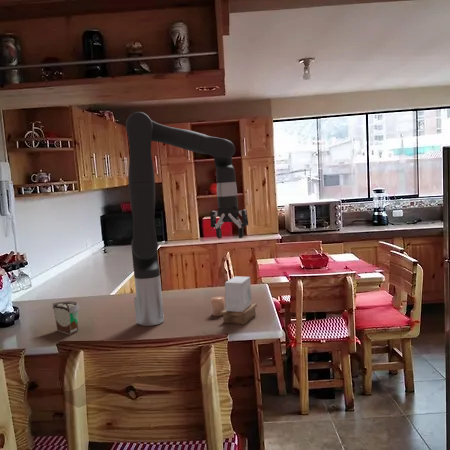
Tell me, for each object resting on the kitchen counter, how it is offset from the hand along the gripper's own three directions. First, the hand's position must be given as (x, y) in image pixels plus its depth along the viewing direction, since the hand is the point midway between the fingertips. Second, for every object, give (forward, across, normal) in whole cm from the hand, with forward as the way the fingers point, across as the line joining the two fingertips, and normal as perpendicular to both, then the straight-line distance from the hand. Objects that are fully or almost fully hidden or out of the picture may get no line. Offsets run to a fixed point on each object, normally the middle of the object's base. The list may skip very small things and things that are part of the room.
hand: (230, 238), depth 181 cm
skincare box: (+24, -5, +8) cm, 26 cm away
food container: (+28, +51, +32) cm, 67 cm away
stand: (+28, -5, +8) cm, 30 cm away
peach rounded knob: (+28, +5, +4) cm, 29 cm away
